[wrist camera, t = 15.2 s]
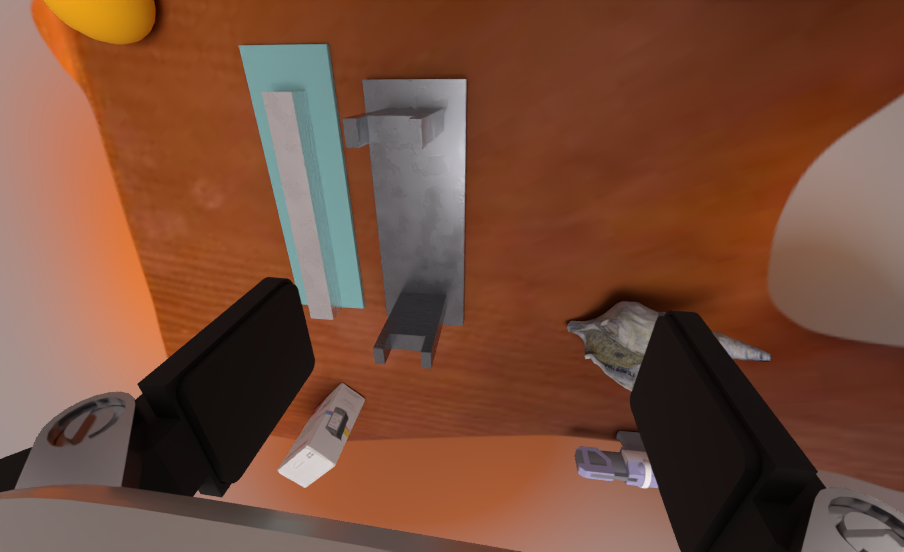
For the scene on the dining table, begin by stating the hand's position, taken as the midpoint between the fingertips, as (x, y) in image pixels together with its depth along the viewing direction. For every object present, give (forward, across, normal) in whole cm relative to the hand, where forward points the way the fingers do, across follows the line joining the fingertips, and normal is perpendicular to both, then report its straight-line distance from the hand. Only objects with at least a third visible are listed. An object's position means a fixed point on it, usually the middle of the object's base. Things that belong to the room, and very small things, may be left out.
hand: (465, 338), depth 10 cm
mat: (+32, +22, +7) cm, 39 cm away
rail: (+31, +21, +9) cm, 39 cm away
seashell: (+32, -18, +21) cm, 43 cm away
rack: (+32, +8, +8) cm, 34 cm away
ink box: (+31, +23, +41) cm, 56 cm away
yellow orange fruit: (+32, +37, -12) cm, 50 cm away
